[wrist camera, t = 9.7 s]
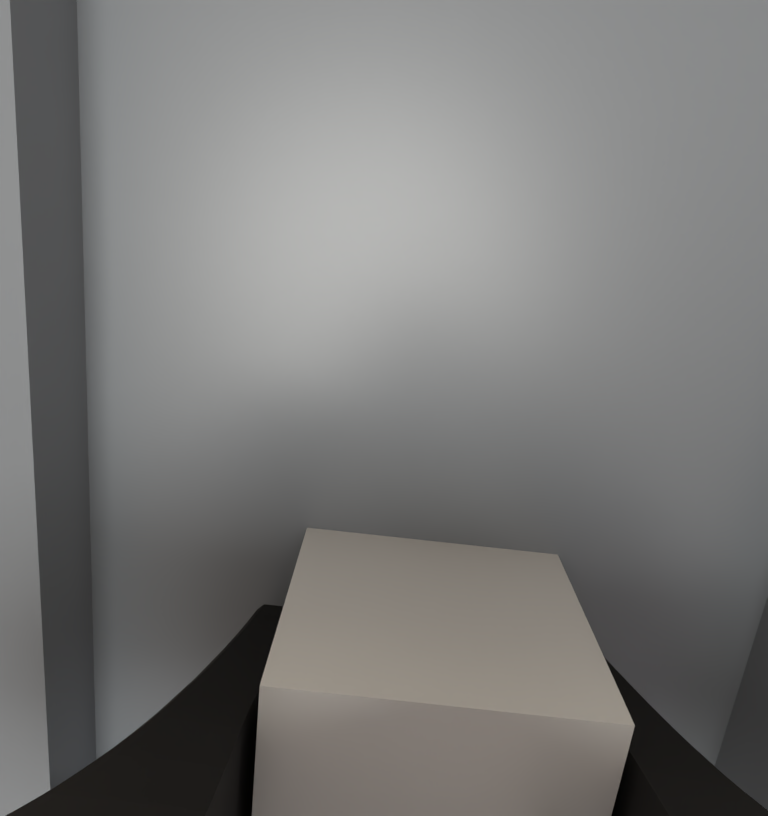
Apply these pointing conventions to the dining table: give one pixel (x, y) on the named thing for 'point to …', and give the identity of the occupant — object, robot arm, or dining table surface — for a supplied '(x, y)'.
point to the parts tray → (378, 333)
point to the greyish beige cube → (435, 687)
